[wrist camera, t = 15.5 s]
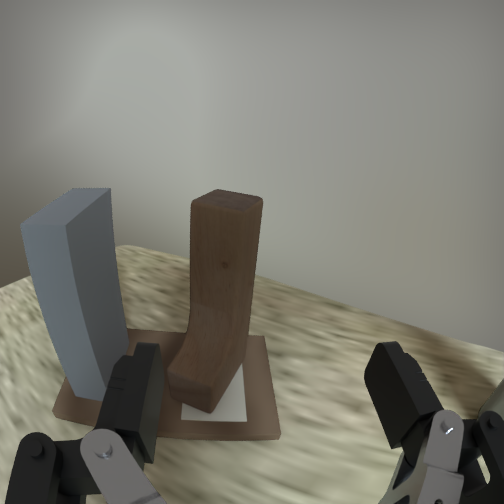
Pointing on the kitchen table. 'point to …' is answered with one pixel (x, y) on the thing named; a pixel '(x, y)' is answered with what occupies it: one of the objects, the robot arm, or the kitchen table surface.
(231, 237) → the wooden block
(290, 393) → the kitchen table surface
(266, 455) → the kitchen table surface
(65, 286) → the slate post
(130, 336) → the base board
